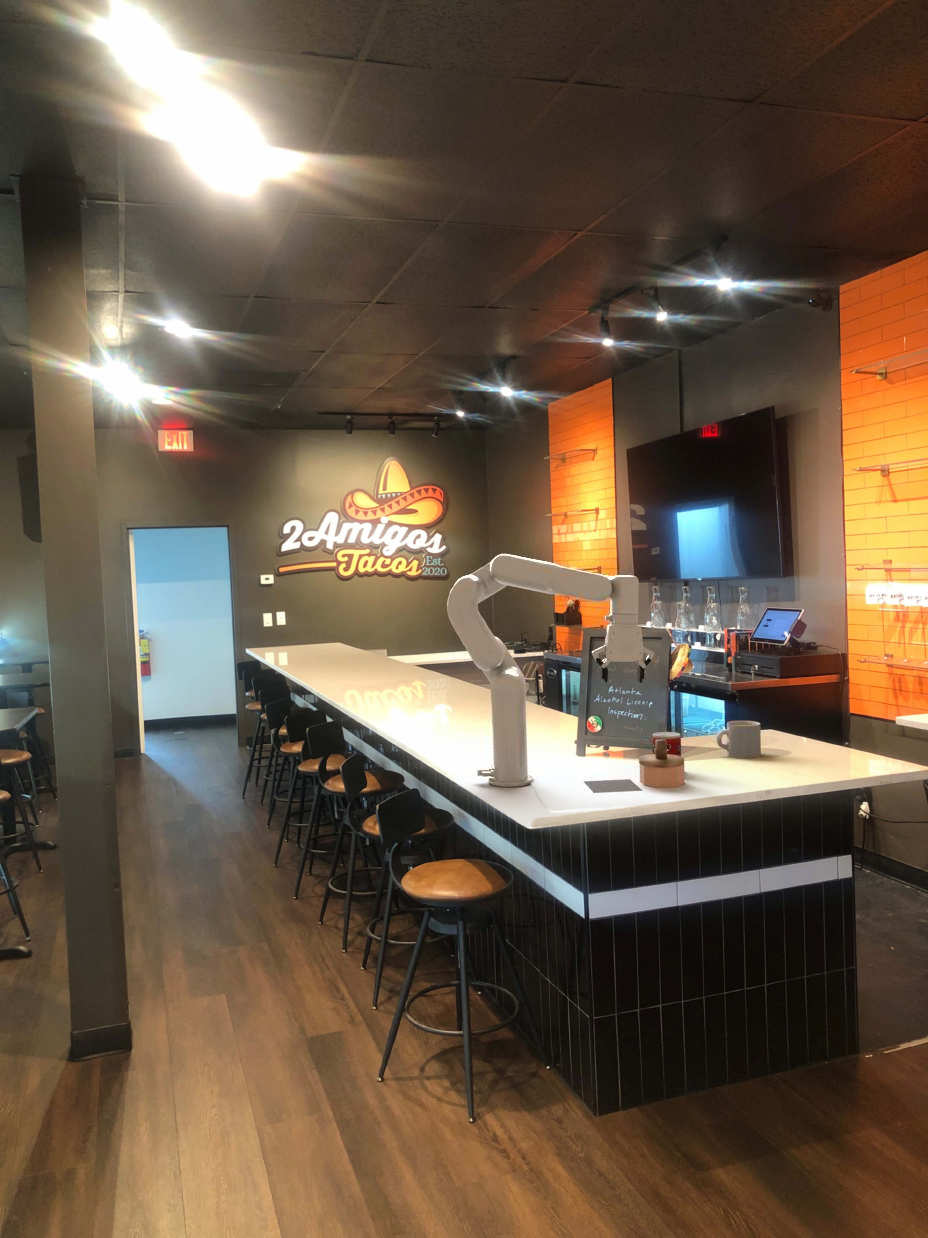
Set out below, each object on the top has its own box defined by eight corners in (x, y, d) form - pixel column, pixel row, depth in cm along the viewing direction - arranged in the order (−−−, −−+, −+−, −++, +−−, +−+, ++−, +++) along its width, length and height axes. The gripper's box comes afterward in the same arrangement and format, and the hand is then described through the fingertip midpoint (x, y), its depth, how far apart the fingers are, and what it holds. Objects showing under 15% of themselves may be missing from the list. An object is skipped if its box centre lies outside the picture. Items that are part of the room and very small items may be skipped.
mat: (593, 795, 236) (593, 792, 236) (583, 783, 249) (583, 781, 249) (642, 792, 237) (642, 790, 237) (629, 781, 250) (629, 779, 250)
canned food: (648, 770, 262) (647, 733, 262) (671, 768, 265) (670, 730, 265) (662, 776, 255) (662, 737, 255) (686, 773, 258) (686, 735, 257)
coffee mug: (757, 752, 284) (756, 720, 284) (763, 758, 274) (763, 725, 274) (713, 752, 286) (713, 721, 285) (718, 758, 276) (718, 726, 275)
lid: (645, 768, 238) (645, 745, 238) (633, 759, 250) (633, 737, 250) (690, 766, 239) (689, 743, 239) (676, 757, 251) (675, 735, 251)
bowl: (647, 790, 239) (647, 768, 239) (636, 781, 250) (636, 759, 250) (688, 788, 240) (688, 766, 239) (675, 779, 251) (675, 757, 250)
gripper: (595, 620, 244) (594, 683, 245) (658, 621, 245) (657, 684, 246) (590, 619, 251) (588, 680, 252) (651, 619, 252) (649, 680, 253)
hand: (622, 682), depth 249 cm, fingers open, 9 cm apart
